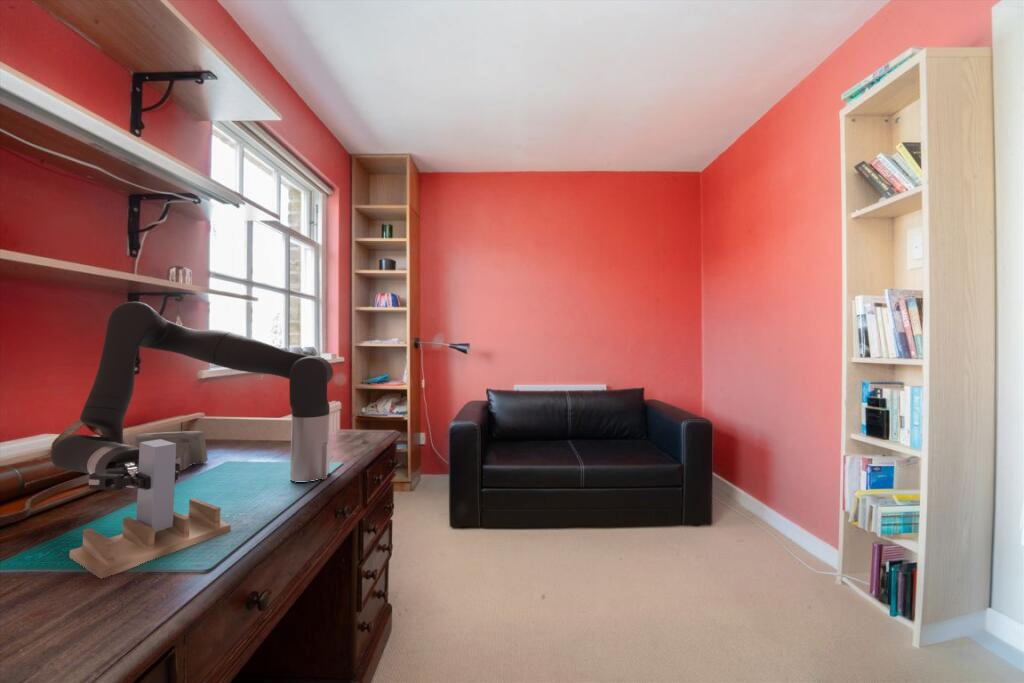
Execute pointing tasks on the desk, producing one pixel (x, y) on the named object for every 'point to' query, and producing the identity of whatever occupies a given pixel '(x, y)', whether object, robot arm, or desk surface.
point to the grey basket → (181, 445)
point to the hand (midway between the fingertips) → (161, 480)
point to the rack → (147, 540)
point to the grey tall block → (157, 484)
